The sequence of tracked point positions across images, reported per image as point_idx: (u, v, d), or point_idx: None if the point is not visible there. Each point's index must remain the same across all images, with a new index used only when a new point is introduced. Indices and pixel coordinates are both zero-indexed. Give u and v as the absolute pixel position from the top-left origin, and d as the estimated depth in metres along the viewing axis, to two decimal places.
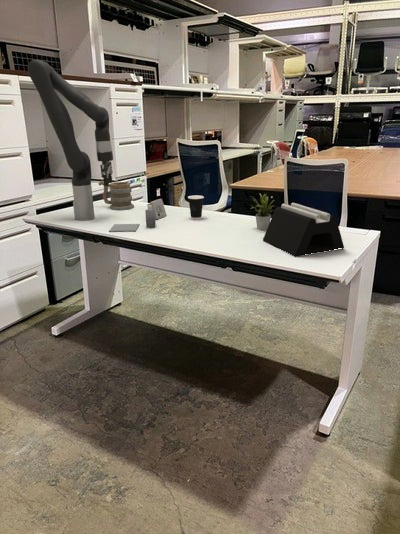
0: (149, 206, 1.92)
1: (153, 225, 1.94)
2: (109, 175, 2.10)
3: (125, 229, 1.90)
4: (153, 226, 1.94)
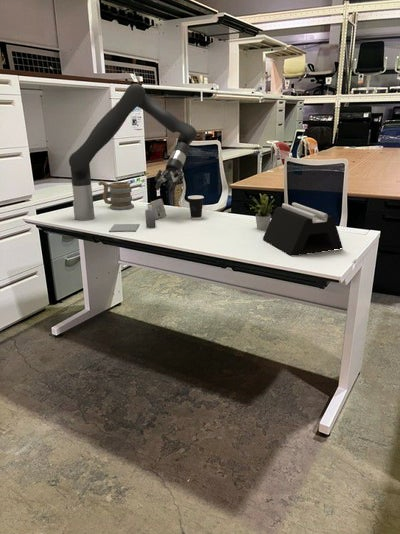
0: (149, 206, 1.92)
1: (153, 225, 1.94)
2: (160, 182, 2.03)
3: (125, 229, 1.90)
4: (153, 226, 1.94)
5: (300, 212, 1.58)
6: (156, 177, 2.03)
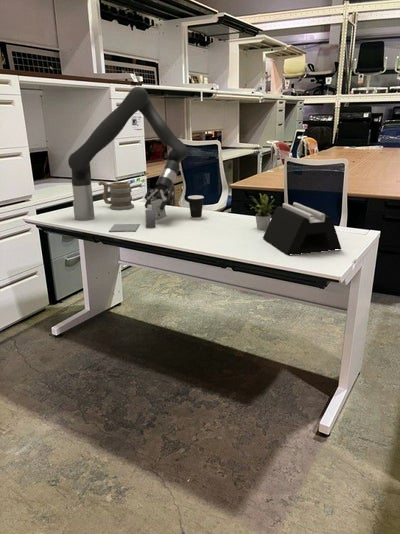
0: (149, 206, 1.92)
1: (153, 225, 1.94)
2: (149, 201, 1.98)
3: (125, 229, 1.90)
4: (153, 226, 1.94)
5: (299, 212, 1.58)
6: (146, 195, 1.99)
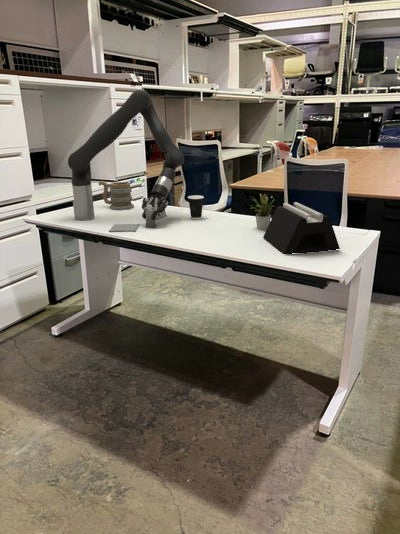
0: (149, 206, 1.92)
1: (153, 225, 1.94)
2: None
3: (125, 229, 1.90)
4: (153, 226, 1.94)
5: (297, 212, 1.59)
6: (143, 205, 1.96)
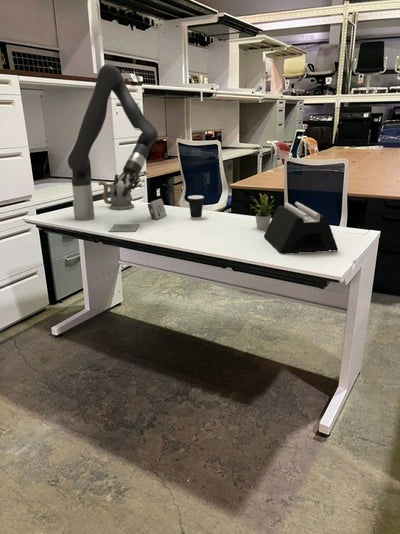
0: (120, 182, 1.86)
1: (125, 202, 1.88)
2: None
3: (125, 229, 1.90)
4: (125, 203, 1.88)
5: (296, 211, 1.59)
6: (114, 182, 1.90)
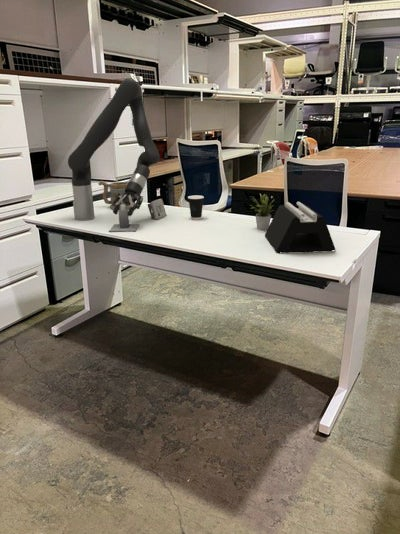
0: (122, 206, 1.90)
1: (126, 225, 1.92)
2: (118, 206, 1.94)
3: (125, 229, 1.90)
4: (126, 226, 1.92)
5: (294, 211, 1.60)
6: (114, 201, 1.94)
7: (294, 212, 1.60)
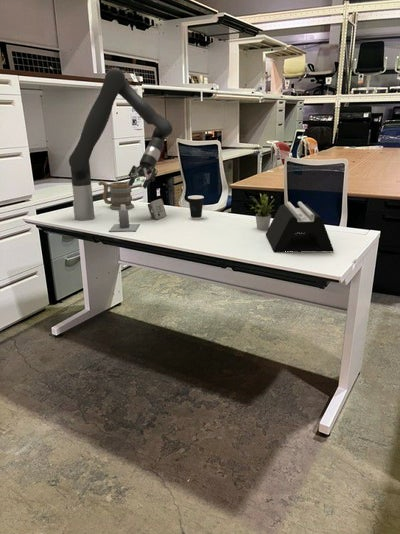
0: (122, 206, 1.90)
1: (126, 225, 1.92)
2: (133, 178, 2.01)
3: (125, 229, 1.90)
4: (126, 226, 1.92)
5: (293, 211, 1.60)
6: (130, 173, 2.01)
7: (293, 212, 1.60)
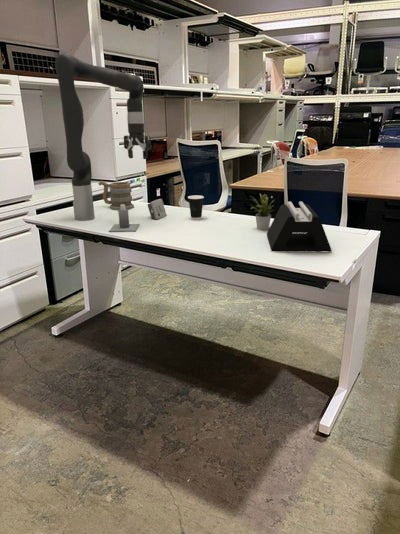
0: (122, 206, 1.90)
1: (126, 225, 1.92)
2: (131, 150, 1.98)
3: (125, 229, 1.90)
4: (126, 226, 1.92)
5: (292, 210, 1.61)
6: (125, 145, 1.98)
7: (292, 211, 1.61)
